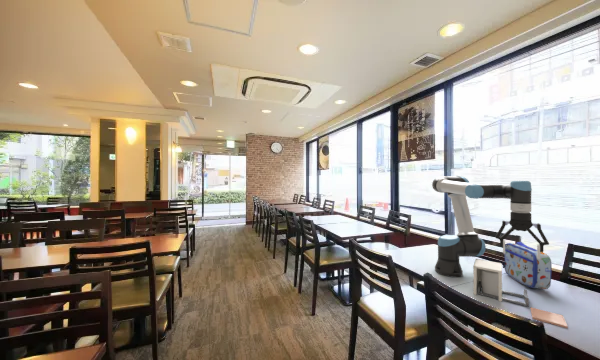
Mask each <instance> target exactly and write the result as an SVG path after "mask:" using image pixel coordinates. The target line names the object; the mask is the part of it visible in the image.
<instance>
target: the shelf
mask: <svg viewBox="0 0 600 360" xmlns="http://www.w3.org/2000/svg"><path fill="white" fill-rule="evenodd" d="M473 263H474V264H473V265H472V266H473V267H472V268H473V286H472V288H473V295H475V296H477V295H478V284H479V281H481V269H483V270H488V271H493V272H498V273H499V299H498V302H503V300H502V297H503V295H502V294H503V293H502V290H503V286H502V285H503V275H502V274H503V271H502V270H503V262H502V263H501V262H496V261H491V260H486V259H479V258H475V259H474V262H473Z"/></svg>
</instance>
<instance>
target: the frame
mask: <svg viewBox="0 0 600 360" xmlns="http://www.w3.org/2000/svg"><path fill="white" fill-rule="evenodd" d="M502 294H507V295H509V296H510V295H511V296H515V297H519V298H523V300H524V302H523V301H519V300H515V299H510V298H507V297H503V296H502V301H504V302H509V303H512V304H517V305H521V306H525V307H529V306H530V305H529V303H530V302H529V293H528V289H527V288H525V289H523V294H521V293H516V292H511V291H508V290H504V289H502ZM477 295H482V296H485V297H487V298H488V297H489V298H492V299H493V298H494V299H496V300H499V296H495V295H491V294H487V293H483V292H481V281H479V284H478V290H477Z"/></svg>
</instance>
